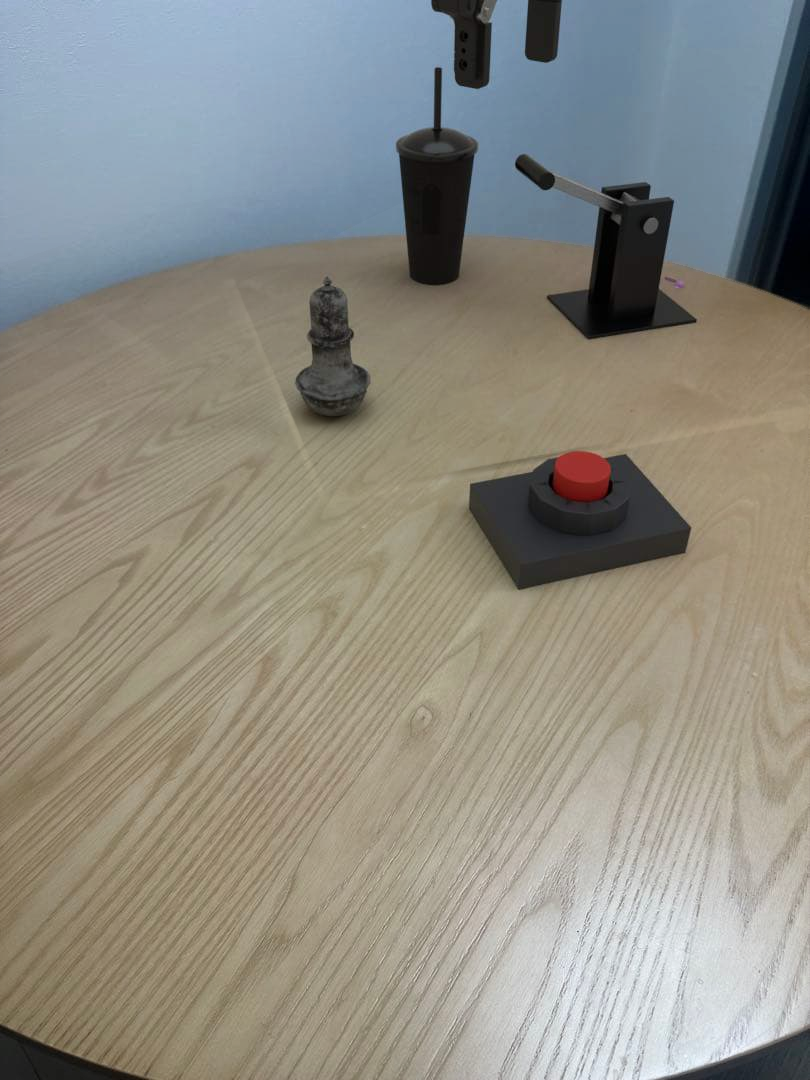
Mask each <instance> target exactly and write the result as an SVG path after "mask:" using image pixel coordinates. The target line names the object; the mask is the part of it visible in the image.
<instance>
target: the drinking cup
mask: <svg viewBox="0 0 810 1080" xmlns="http://www.w3.org/2000/svg"><path fill="white" fill-rule="evenodd" d="M433 71H434V73H433V74H434V75H433V78H434V79H433V126H431V127H430V126H429V127H424V128H420V129H417V130H415V131H413V132H411V133H409V134H407V135H404V136H401V137H400V138H398V140H397V141H396V142H395V151H396V153H397V154H398V158H399V159H398V160H399V169H400V182H401V193H402V204H403V215H404V224H405V225H404V227H405V237H406V249H407V261H408V270H409V278H410V279H411V280H412V281H414V282H416V283H418V284H422V285H427V286H443V285H448V284H451V283H453V282H455V281H457V280H458V279H459V277H460V268H461V263H462V253H463V247H464V239H465V232H466V223H467V215H468V209H469V208H468V207H469V201H470V194H471V193H470V192H471V184H472V176H473V169H474V163H475V162H474V161H475V155H476V154H477V153H478V151H479V142H478V141H477V139H475V138H473V137H472V136H469V135H467V134H465V133H463V132H461V131H459V130H456V129H454V128H450V127H445V126H442V96H443V92H442V91H443V68H442V67H437V66H436V67H434V70H433Z"/></svg>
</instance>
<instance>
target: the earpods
mask: <svg viewBox="0 0 810 1080" xmlns="http://www.w3.org/2000/svg"><path fill="white" fill-rule="evenodd" d="M664 279H665V280H667V281H670V282H674V283H675V286H674V288H675V289H679V288H684V287H685V283H684V282H683V281H682V280H675V279H674V278H672V277H669V276H664Z"/></svg>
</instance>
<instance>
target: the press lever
mask: <svg viewBox="0 0 810 1080" xmlns="http://www.w3.org/2000/svg"><path fill="white" fill-rule="evenodd" d="M514 166H515V167H514V168H515V169H516V171H518V172H519V173H520V174H522V175H523V176H524V177H525V178H527V179H528V180H529V181H530V182H532V183H533V184H534V185H535V186H537V187H538V188H539V189H541V190H542V191H548V190H551V189H552V188H553V189H556V190H558V191H561V192H563V193H566V194H567V195H570V196H573V197H575V198H577V199H580V200H581V201H584V202H587V203H589V204H591V205H594V206H597V207H598V208H599V207H601V208H603V209H606V210H608V211H611V212H613V213H612V215H611V217H610V218H611V219H613V220H614V221H615V222H617V223H618V224H619V225H620V222H621V215H622V208H623V203H624V202H631V201H639V200H641V199H639V198H636V197H634V196H632V195H630V194H627V193H625V192H624V193H623V194H622V196H621V198H620V200H618V199H615V198H613V197H611V196H608V195H606V194H604V193H601V191H600V190H596V189H594V188H592V187H590V186H587V185H584V184H582V183H580V182H578V181H576V180H573V179H571V178H568V177H566V176H564V175H562V174H559V173H557V172H554V171H552V170H550V169H547V168H546V167H544V166H543V165H542V164H540V162H538V161H536V160H535V159H534V158H533V157H531V156H530V155H528V154H526V153H521V154H520V155H518V156H517V158H516V159H515V162H514Z"/></svg>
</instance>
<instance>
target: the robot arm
mask: <svg viewBox="0 0 810 1080" xmlns="http://www.w3.org/2000/svg"><path fill="white" fill-rule="evenodd" d="M497 2H498V0H430V3H431V4H430V5H431V8H432V11H434V12H436V13H442V14H444V15H447V16H449V17H450V19H452V20H453V25H454V42H453V43H454V44H453V46H454V47H453V52H454V53H453V72H454V80H455V83H456V84H457V86H459V87H464V88H468V89H474V90H480V89H483V88H485V87H487V86H488V85H489V83H490V77H491V75H490V74H491V52H492V28H493V27H492V26H493V22H490V21H491V18H492V16H493V12H494V11H495V7H496V6H497ZM562 4H563V0H527V12H526V26H525V27H526V28H525V42H524V43H525V44H524V55H525V58H526V59H527V60H528V61H532V62H537V63H544V64H547V63H550V62H554V61H555V60H556V59H557V58H558V51H559V39H560V27H561V18H562V17H561V16H562Z"/></svg>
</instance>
